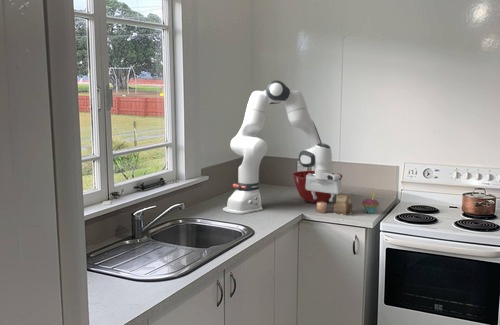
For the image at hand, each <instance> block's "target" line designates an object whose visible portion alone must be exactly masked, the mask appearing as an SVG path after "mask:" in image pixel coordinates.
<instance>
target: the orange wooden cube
mask: <svg viewBox="0 0 500 325" xmlns="http://www.w3.org/2000/svg"><path fill="white" fill-rule="evenodd" d="M327 203H328V202H317V203H316V213H317V212H318V213H317V214H326V213H327V212H328V211H327V207H328V206H327V205H328V204H327Z"/></svg>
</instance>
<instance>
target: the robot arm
mask: <svg viewBox="0 0 500 325" xmlns="http://www.w3.org/2000/svg"><path fill="white" fill-rule="evenodd" d="M281 103H282V105H284V107H285V109H286V110H285V112H286V115H287V118H288V121H289V123H290V125H291V126H293V127H295V128H296V129H298V130H299V129H300V130H301V131H302V132H304V133H305V135H306V136H307V140H308V142H309V144H310V147H309V148H307V149H303V150H302V151H300V152H299V154H298V163H299V164H300V165H301V166H302V167H304V168H312V167H314V171H315V174H311V173H308V174H307V175H306V185H305V188H306V190H309V191H311V193H312V195H313V199H317V196H316V194H315V192H323V193H330V194H331V198H329V201H328V202H330V203H332V202H334V197H336V195H338V194H341V193H342V190H343V188H342V187H343V185H342V180H341V181H340V180H339V179H340V175H339V174H340V173H339V174H337V173H338V172H335V171H333V169H332V161H333V157H332V156H333V154H332V147H331V146H330V145H329V144H326V143H323V142H322V140H321V138H320V135H319V132H318V129H317V126H316V124H315V121H314V120H313V119H312V118H311V116H310V113H309V111H308V110H309V109H308V106H307V104H306V100H305V98H304V95H303V93H302V91H299V90H297V89H294V90H290V88H289V87H288V86H287V85H286V84H285V83H284V82H282V81H281V80H277V79H274V80H271V81H270V82H269V83H268V84H267V85H266V88H265V90H253V92H251V95H250V96H249V99H248V102H247V105H246V109H245V112H244V117H243V122H242V124H241V127H240V128H239V131H238V132H237V134H236V135H235V136H233V138H232V139H231V140H230V143H229V144H230V145H229V146H230V150H231V151H232V152H233V153H235V154H236V155H238V156H242V157H243V158H242V162H241V164H240V165H239V166H238V170H237V171H238V172H237V173H238V174H237V178H238V180H237V183H233V184H232V187H233V188H234V189H235V190H234V191H233V193H232V194H231V195H230V196H229V197H228V199H227V203H226V204H227V206H225V207H223V208H222V211H223V212H226V213H230V214H236V215H244V214H249V213H254V212H258V211H263V209H264V208H263V207H262V198H261V193H260V185H261V184H260V181H259V180H260V178H259V177H260V165H261V162H262V160H263V158H264V157H265V156H266V154H267V153H268V148H269V147H268V144H267V142H266V141H265V140H264V139H262V138H260V137H257V135H258V133H259V132H260V131H261V130H263V128H264V126H265V122H266V118H267V117H266V116H267V112H268V108H269V105H274V104H275V105H276V104H281Z"/></svg>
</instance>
